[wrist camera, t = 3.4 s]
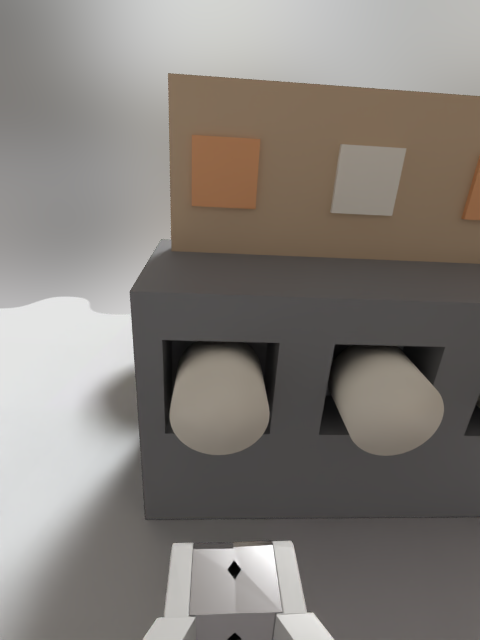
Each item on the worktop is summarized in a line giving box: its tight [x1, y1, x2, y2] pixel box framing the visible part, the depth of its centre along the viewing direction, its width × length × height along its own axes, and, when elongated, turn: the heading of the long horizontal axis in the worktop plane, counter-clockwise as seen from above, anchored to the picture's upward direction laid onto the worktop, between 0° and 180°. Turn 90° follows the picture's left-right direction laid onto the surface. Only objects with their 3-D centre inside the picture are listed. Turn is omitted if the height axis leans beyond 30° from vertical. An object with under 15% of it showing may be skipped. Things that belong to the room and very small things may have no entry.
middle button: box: [328, 345, 444, 456], centre depth 19 cm, size 4×4×4 cm
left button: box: [169, 341, 270, 455], centre depth 18 cm, size 4×4×4 cm
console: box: [130, 73, 480, 519], centre depth 23 cm, size 24×10×23 cm, turn 93°
